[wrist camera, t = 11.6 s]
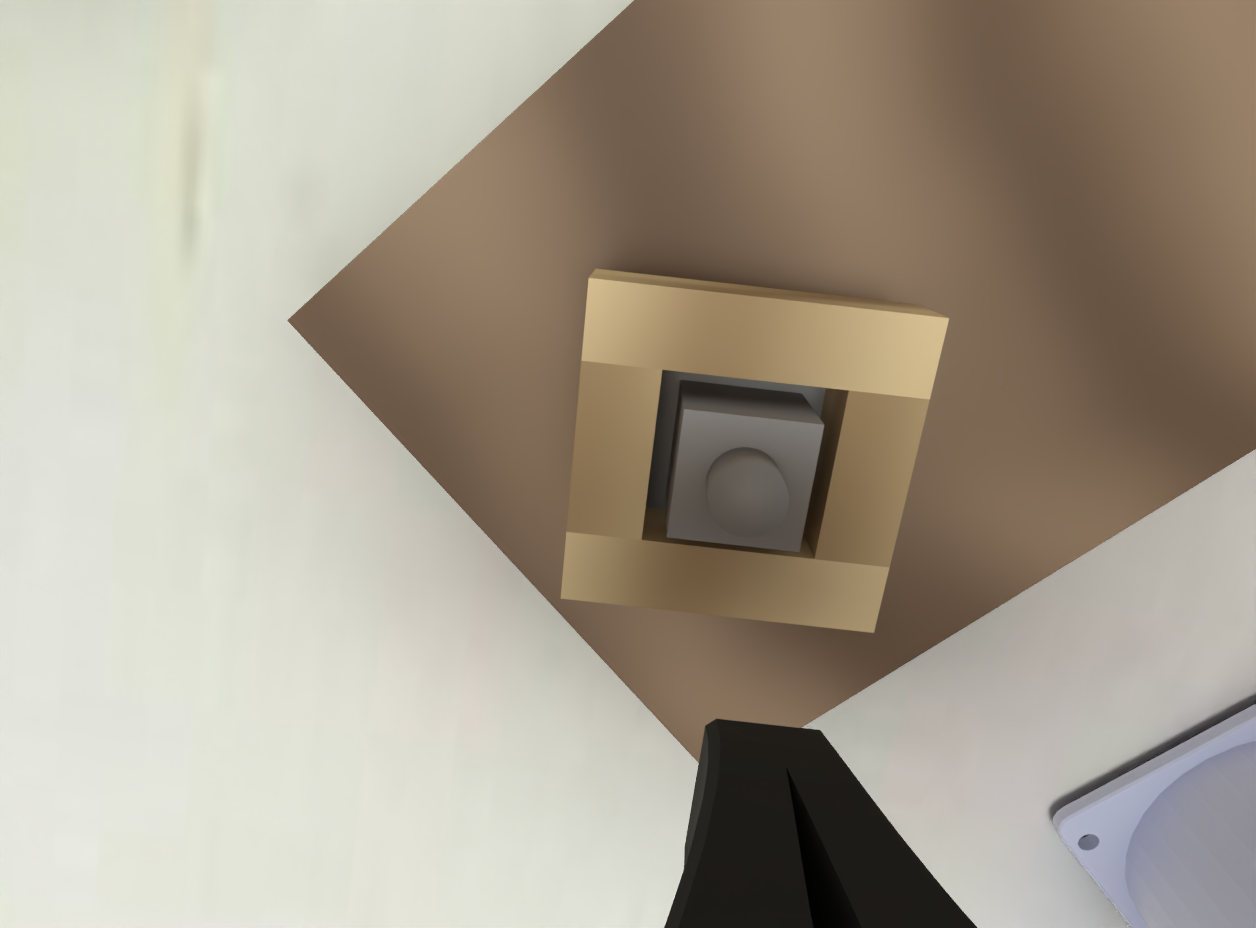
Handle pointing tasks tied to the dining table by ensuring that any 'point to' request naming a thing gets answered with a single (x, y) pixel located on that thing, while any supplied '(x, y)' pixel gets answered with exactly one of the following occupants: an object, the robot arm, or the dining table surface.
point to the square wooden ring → (757, 350)
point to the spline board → (844, 266)
